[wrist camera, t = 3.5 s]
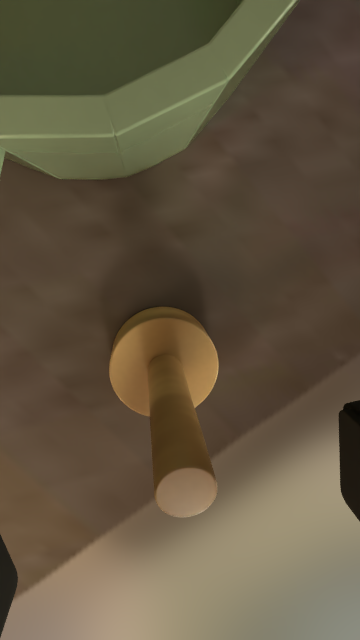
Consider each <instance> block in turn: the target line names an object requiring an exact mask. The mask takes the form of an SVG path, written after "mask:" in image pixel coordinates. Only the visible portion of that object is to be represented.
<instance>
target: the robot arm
mask: <svg viewBox="0 0 360 640" xmlns="http://www.w3.org/2000/svg"><path fill="white" fill-rule="evenodd" d="M339 443H340V445H339V446H340V485H341V493H342V496H343V498H344V500H345V502H346V504H347V505H348V506H349V508H350V509H351V510H352V512H353V513H354V514H355V516H356V517H357V518H358V520H359V521H360V400H359V401H354V402H350V403H346V404H345V405H344V407H343V410H341V411H340V412H339ZM17 581H18V576H17V571H16V568H15V566H14V564H13V562H12V559H11V557H10V555H9V553H8V550H7V548H6V546H5V544H4V542H3V539H2V537H1V535H0V637H1V634H2V631H3V627H4V624H5V622H6V618H7V615H8V612H9V609H10V606H11V603H12V600H13V597H14V594H15V591H16V587H17Z"/></svg>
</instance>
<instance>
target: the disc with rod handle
mask: <svg viewBox="0 0 360 640" xmlns="http://www.w3.org/2000/svg"><path fill="white" fill-rule="evenodd" d="M217 374H218V356H217V352H216V349H215V346H214V345H213V343H212V341H211V339H210V338H209V336H208V334H207V333H206V331H205V329H204V328H203V326H202V325H201V324H200V322H199V321H198V320H197V319H196V318H194V317H193V316H192V315H190V314H188V313H187V312H185V311H182V310H180V309H176V308H173V307H154V308H149V309H146V310H143V311H141V312H139V313H137V314H135V315H134V316H132V317H131V318H130V319H128V320H127V321H126V322H125V323H124V324H123V326H122V327H121V328H120V330H119V331H118V333H117V335H116V338H115V340H114V344H113V348H112V353H111V358H110V364H109V375H110V380H111V384H112V386H113V389H114V391H115V393H116V394H117V396H118V397H119V398H120V399H121V400H122V402H123V403H124V404H126V405H127V406H128V407H129V408H131V409H132V410H134V411H136V412H138V413H140V414H143V415H146V416H150V426H151V444H152V461H153V479H154V496H155V500H156V503H157V504H158V506H159V507H160V509H162V510H163V511H164V512H166V513H167V514H169V515H172V516H176V517H188V516H193V515H196V514H199V513H201V512H203V511H204V510H205V509H207V508H208V507H209V506H210V505H211V504H212V502H213V501H214V499H215V497H216V494H217V481H216V478H215V475H214V471H213V468H212V464H211V461H210V458H209V454H208V451H207V448H206V444H205V441H204V438H203V434H202V431H201V428H200V424H199V421H198V417H197V414H196V411H195V407H196V406H198V405H199V404H200V403H201V402H202V401H203V400H204V399H205V398H206V397H207V396H208V394H209V393H210V391H211V390H212V388H213V386H214V384H215V381H216V378H217Z"/></svg>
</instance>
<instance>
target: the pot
mask: <svg viewBox="0 0 360 640" xmlns="http://www.w3.org/2000/svg"><path fill="white" fill-rule="evenodd" d="M299 1H300V0H0V174H1V169H2V165H3V160H4V158H6V159H8V160H11V161H13V162H16V163H19V164H21V165H24V166H26V167H28V168H31V169H34V170H37V171H39V172H42V173H45V174H47V175H50V176H52V177H55V178H58V179H83V180H101V179H111V178H125V177H126V176H127V177H129V176H131V175H133V174H135V173H138V172H140V171H143V170H145V169H148V168H150V167H153V166H155V165H157V164H159V163H160V162H162V161H164V160H165V159H167V158H169V157H171V156H172V155H174V154H176V153H178V152H180V151H182V150H184V149H185V148H186V147H187V146H188V145H189V144H190V143H191V142H192V140H193V139H194V138H195V137H196V136H197V135H198V133H199V132H200V131H201V130H202V129H203V128H204V127H205V126H206V124H207V123H208V122H209V120H210V119H211V118H212V117H213V116H214V114H215V113H216V112H217V111H218V110H219V109H220V107H221V106H222V105H223V104H224V103H225V102H226V100H227V99H228V98H229V97H230V95H231V94H232V93H233V91H234V90H235V89H236V87H237V86H238V84H239V83H240V82H241V80H242V79H243V78H244V76H245V75H246V73H247V72H248V71H249V69H250V68H251V67H252V65H253V64H254V62H255V61H256V60H257V58H258V57H259V56H260V54H261V53H262V51H263V50H264V49H265V47H266V46H267V45H268V43H269V42H270V41H271V39H272V38H273V36H274V35H275V34H276V32H277V31H278V30H279V28H280V27H281V25H282V24H283V23H284V21H285V20H286V19H287V17H288V16H289V14H290V13H291V12H292V10H293V9H294V8H295V6H296V5H297V4H298V2H299Z"/></svg>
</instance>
